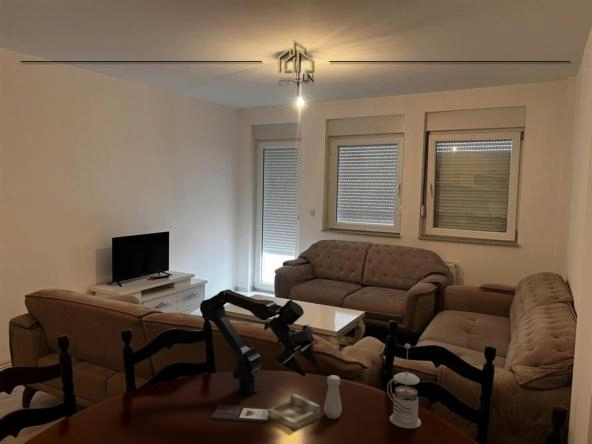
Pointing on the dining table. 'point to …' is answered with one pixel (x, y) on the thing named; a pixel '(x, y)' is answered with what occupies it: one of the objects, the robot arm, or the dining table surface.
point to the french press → (410, 413)
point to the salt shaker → (333, 398)
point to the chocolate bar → (241, 413)
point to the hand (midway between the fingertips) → (311, 370)
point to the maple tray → (295, 412)
